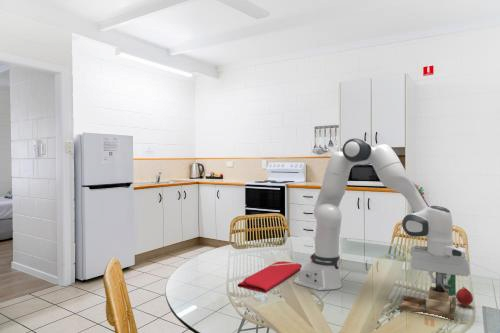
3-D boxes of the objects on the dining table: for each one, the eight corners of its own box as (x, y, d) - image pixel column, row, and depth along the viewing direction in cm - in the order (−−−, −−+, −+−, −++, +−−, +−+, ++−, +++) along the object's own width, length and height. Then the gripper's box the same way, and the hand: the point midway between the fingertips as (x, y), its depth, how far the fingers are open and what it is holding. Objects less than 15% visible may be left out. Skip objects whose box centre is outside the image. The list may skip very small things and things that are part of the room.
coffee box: (438, 289, 164) (438, 260, 164) (444, 289, 165) (444, 260, 165) (449, 295, 156) (450, 265, 156) (456, 295, 157) (456, 265, 157)
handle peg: (435, 293, 139) (435, 267, 139) (436, 291, 141) (436, 266, 141) (443, 294, 138) (443, 268, 138) (443, 292, 140) (443, 267, 140)
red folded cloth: (236, 287, 167) (236, 279, 167) (276, 266, 202) (276, 259, 202) (266, 294, 159) (266, 285, 159) (302, 270, 194) (302, 263, 194)
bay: (398, 309, 142) (398, 296, 142) (403, 299, 152) (403, 287, 152) (454, 321, 131) (454, 307, 131) (455, 309, 141) (455, 297, 141)
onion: (466, 303, 148) (466, 284, 148) (476, 309, 142) (476, 289, 142) (453, 303, 148) (453, 284, 148) (461, 309, 142) (461, 289, 142)
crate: (425, 311, 138) (426, 291, 138) (428, 305, 145) (428, 285, 145) (449, 316, 134) (449, 295, 134) (450, 309, 141) (451, 289, 140)
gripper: (409, 246, 142) (409, 281, 142) (469, 253, 131) (469, 290, 131) (411, 243, 147) (411, 277, 148) (469, 249, 137) (469, 285, 137)
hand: (439, 283), depth 139 cm, fingers closed on handle peg, 3 cm apart
